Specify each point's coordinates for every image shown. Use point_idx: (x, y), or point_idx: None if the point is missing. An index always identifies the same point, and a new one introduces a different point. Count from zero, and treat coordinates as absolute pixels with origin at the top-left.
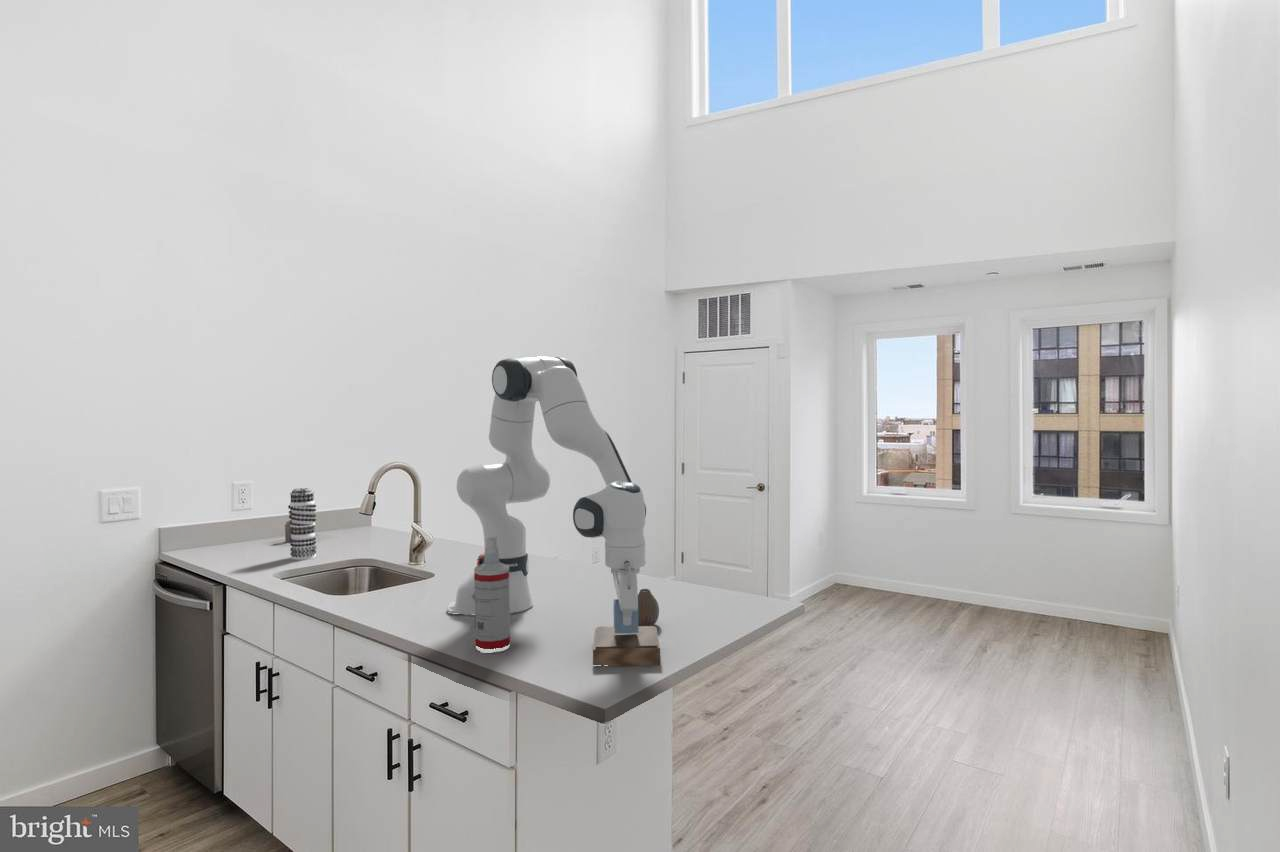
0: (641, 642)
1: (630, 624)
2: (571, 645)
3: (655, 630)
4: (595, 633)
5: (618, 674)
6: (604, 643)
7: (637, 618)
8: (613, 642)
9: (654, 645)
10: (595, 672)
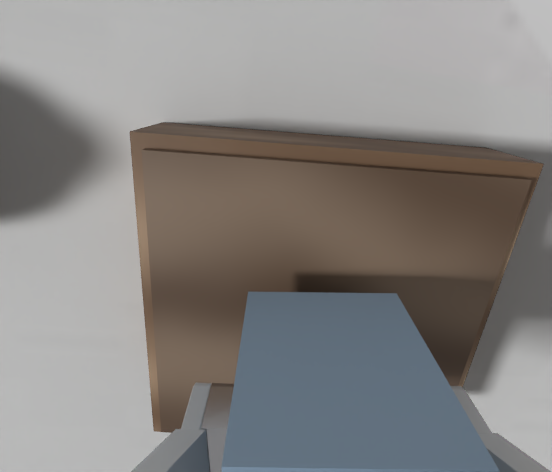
0: (444, 263)
1: (459, 387)
2: None
3: (202, 146)
4: None
5: (517, 321)
6: None
7: (434, 363)
8: None
9: (522, 197)
10: (468, 386)
